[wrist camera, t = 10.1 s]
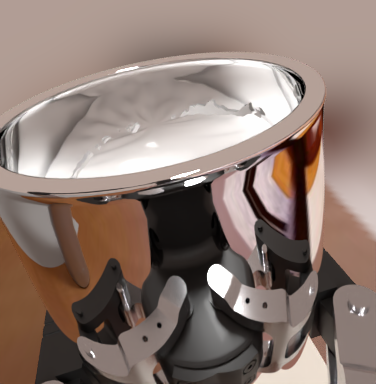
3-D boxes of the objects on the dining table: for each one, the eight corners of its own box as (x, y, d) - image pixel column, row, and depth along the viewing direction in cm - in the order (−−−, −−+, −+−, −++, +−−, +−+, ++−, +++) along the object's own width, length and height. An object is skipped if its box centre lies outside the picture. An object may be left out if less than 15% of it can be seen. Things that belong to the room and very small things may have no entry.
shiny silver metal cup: (233, 587, 11) (68, 313, 2) (117, 423, 15) (-80, 130, 7) (332, 411, 14) (410, 53, 6) (215, 321, 19) (164, 46, 10)
